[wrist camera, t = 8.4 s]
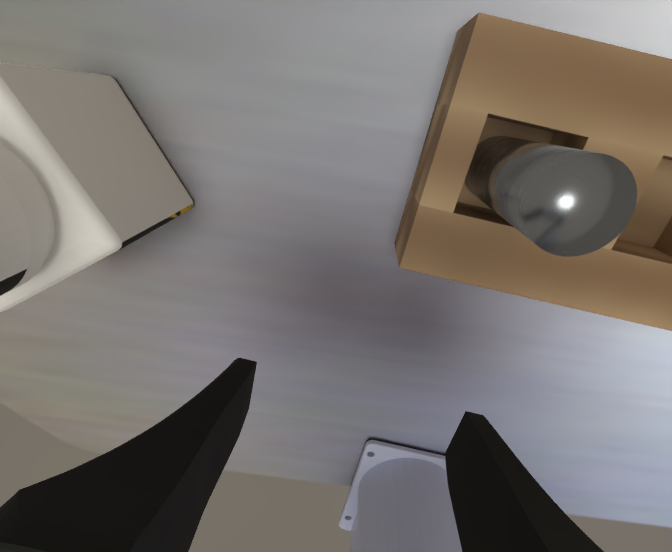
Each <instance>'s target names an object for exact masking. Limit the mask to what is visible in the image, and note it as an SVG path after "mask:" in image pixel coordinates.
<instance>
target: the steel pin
mask: <svg viewBox="0 0 672 552" xmlns="http://www.w3.org/2000/svg"><path fill="white" fill-rule="evenodd" d="M465 184H466V186H467V188H468V189H469V191H470V192H471V193H472V194H473V195H475V196H476V197H477V198H478V199H480V200H481V201H482V202H483V203H485V204H486V205H487V206H488V207H490V208H491V209H492V210H493V211H495V212H496V213H497V214H498V215H500V216H501V217H502V218H503V219H505V220H506V221H507V222H508V223H510V224H511V225H512V226H513V227H515V228H516V229H517V230H518V231H520V232H521V233H522V234H523V235H525V236H526V237H527V238H528V239H530V240H531V241H532V242H533V243H535V244H536V245H537V246H538V247H540V248H541V249H543V250H544V251H546V252H548V253H550V254H554V255H557V256H564V257H573V256H580V255H585V254H588V253H591V252H594V251H596V250H598V249H600V248H602V247H604V246H605V245H607V244H608V243H610V242H611V241H612V240H614V239H615V238H616V237H617V236H618V235H619V234H620V233H621V232H622V231H623V229H624V228H625V227H626V225H627V224H628V222H629V221H630V219H631V217H632V215H633V213H634V210H635V206H636V202H637V185H636V181H635V178H634V176H633V174H632V172H631V171H630V169H629V168H628V167H627V166H626V165H625V164H624V163H623V162H621V161H620V160H619V159H617V158H615V157H613V156H610V155H606V154H602V153H597V152H591V151H585V150H580V149H574V148H569V147H563V146H558V145H552V144H546V143H541V142H535V141H530V140H524V139H519V138H513V137H507V136H494V137H490V138H488V139H485V140H483V141H482V142H480V143H479V144H477V147H476V150H475V152H474V155H473V158H472V161H471V164H470V167H469V169H468V172H467V175H466V178H465Z"/></svg>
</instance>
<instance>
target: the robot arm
mask: <svg viewBox="0 0 672 552" xmlns="http://www.w3.org/2000/svg"><path fill="white" fill-rule="evenodd" d="M256 364H257V362H255V361H251V360H247V359H242V358H238V359H236V360H235V361H234V362H233V363H232V364H231V365H230V366H229V367H228V368H227V369H226V370H225V371H224V372H222V373H221V374H220V375H219V376H218V377H217V378H216V379H215V380H214V381H213V382H212V383H210V384H209V385H208V386H207V387H206V388H204V389H203V390H202V391H201V392H200V393H199V394H197V395H196V396H195V397H194V398H192V399H191V400H190V401H188V402H187V403H186V404H184V405H183V406H182V407H180V408H179V409H178V410H176V411H175V412H174V413H172V414H171V415H169V416H168V417H167V418H165V419H164V420H162V421H161V422H159V423H158V424H156V425H154V426H153V427H151V428H150V429H148V430H147V431H145V432H143V433H142V434H140V435H138V436H136V437H135V438H133V439H131V440H129V441H128V442H126V443H124V444H122V445H121V446H119V447H117V448H115V449H113V450H111V451H109V452H107V453H105V454H103V455H101V456H99V457H97V458H95V459H93V460H91V461H88V462H86V463H84V464H82V465H80V466H78V467H76V468H74V469H71V470H69V471H67V472H64V473H62V474H59V475H57V476H54V477H52V478H49V479H47V480H44V481H41V482H39V483H37V484H34V485H31V486H29V487H26V488H23V489H21V490H19V491H18V492H17V493H16V494H15V495H14V496H13V497H11V498H10V499H9V500H8V501H7V502H6V503H5V504H4V505H2V506H1V507H0V552H188V551H189V548H190V546H191V543H192V540H193V538H194V535H195V532H196V530H197V527H198V524H199V522H200V519H201V516H202V514H203V511H204V509H205V507H206V505H207V502H208V500H209V498H210V496H211V494H212V492H213V489H214V488H215V485H216V483H217V481H218V479H219V477H220V475H221V473H222V471H223V469H224V467H225V465H226V463H227V460H228V458H229V456H230V454H231V452H232V450H233V448H234V446H235V444H236V441H237V439H238V437H239V435H240V432H241V429H242V426H243V423H244V421H245V418H246V415H247V412H248V409H249V404H250V399H251V393H252V387H253V381H254V375H255V370H256ZM339 527H340V528H342V529H344V530H348V531H351V545H350V552H603V551H602V550H601V549H600V548H599V547H598V546H597V545H596V544H595V543H594V542H593V541H592V540H591V539H590V538H589V537H587V535H586V534H585V533H584V532H583V531H582V530H581V529H580V528H579V527H578V526H577V525H576V524H575V523H574V522H573V521H572V520H571V519H570V518H569V517H568V516H567V515H566V514H565V513H564V512H563V511H562V510H561V509H560V508H559V506H558V505H557V504H556V503H555V502H554V501H553V500H552V499H551V498H550V496H549V495H548V494H547V493H546V492H545V491H544V490H543V488H542V487H541V486H540V485H539V484H538V483H537V482H536V480H535V479H534V478H533V477H532V476H531V474H530V473H529V472H528V471H527V469H526V468H525V467H524V466H523V465H522V463H521V462H520V461H519V460H518V458H517V457H516V456H515V455H514V453H513V452H512V451H511V449H510V448H509V447H508V446H507V444H506V443H505V442H504V441H503V439H502V438H501V437H500V435H499V434H498V433H497V432H496V430H495V429H494V428H493V426H492V425H491V424H490V423H489V422H488V420H487V419H486V418H485V417H484V416H483V415H480V414H475V413H471V412H467V411H466V412H465V414H464V416H463V418H462V420H461V422H460V424H459V426H458V428H457V430H456V432H455V434H454V436H453V438H452V440H451V443H450V445H449V447H448V449H447V451H446V453H445V456H443V455H439V454H434V453H430V452H425V451H421V450H416V449H412V448H407V447H403V446H398V445H394V444H389V443H385V442H380V441H376V440H369V441H367V442H366V444H365V447H364V450H363V453H362V456H361V459H360V461H359V464H358V467H357V470H356V473H355V476H354V479H353V482H352V485H351V488H350V491H349V493H348V496H347V499H346V502H345V506H344V508H343V511H342V514H341V517H340V520H339Z"/></svg>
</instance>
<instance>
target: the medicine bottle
mask: <svg viewBox="0 0 672 552" xmlns="http://www.w3.org/2000/svg"><path fill="white" fill-rule="evenodd" d="M192 206H193V201H192V199H191V197H190V196H189V194H188V193H187V191H186V189H185V188H184V186H183V185H182V183H181V182H180V180H179V178H178V177H177V175H176V174H175V172H174V171H173V169H172V168H171V166H170V164H169V163H168V161H167V160H166V158H165V157H164V155H163V154H162V152H161V150H160V149H159V147H158V146H157V144H156V143H155V141H154V139H153V138H152V136H151V135H150V133H149V132H148V130H147V129H146V127H145V125H144V124H143V122H142V121H141V119H140V118H139V116H138V114H137V113H136V111H135V110H134V108H133V107H132V105H131V104H130V102H129V100H128V99H127V97H126V96H125V94H124V93H123V91H122V90H121V88H120V86H119V85H118V83H117V82H116V80H115V79H114V78H113V77H111V76H108V75H103V74H94V73H86V72H78V71H70V70H62V69H54V68H45V67H37V66H29V65H21V64H13V63H4V62H0V312H2V311H6V310H8V309H10V308H11V307H13V306H15V305H17V304H19V303H21V302H23V301H25V300H26V299H28V298H30V297H32V296H34V295H36V294H38V293H40V292H41V291H43V290H45V289H47V288H49V287H51V286H53V285H54V284H56V283H58V282H60V281H62V280H64V279H66V278H68V277H69V276H71V275H73V274H75V273H77V272H79V271H81V270H83V269H84V268H86V267H88V266H90V265H92V264H94V263H96V262H97V261H99V260H101V259H103V258H105V257H107V256H109V255H111V254H112V253H114V252H116V251H118V250H120V249H122V248H123V247H125V246H127V245H129V244H130V243H132V242H134V241H136V240H137V239H139V238H141V237H143V236H144V235H146V234H148V233H150V232H151V231H153V230H155V229H156V228H158V227H160V226H162V225H163V224H165V223H167V222H169V221H170V220H172V219H174V218H176V217H177V216H179V215H181V214H183V213H184V212H186V211H188V210H190V209H191V208H192Z"/></svg>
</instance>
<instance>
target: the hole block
mask: <svg viewBox="0 0 672 552" xmlns="http://www.w3.org/2000/svg"><path fill="white" fill-rule="evenodd" d="M494 136H507V137H513V138H519V139H524V140H530V141H535V142H541V143H546V144H552V145H558V146H563V147H569V148H574V149H580V150H585V151H591V152H597V153H602V154H606V155H610V156H613V157H615V158H617V159H619V160H620V161H621V162H623V163H624V164H625V165H626V166H627V167H628V168H629V169H630V171H631V172H632V174H633V176H634V178H635V181H636V185H637V202H636V206H635V210H634V213H633V215H632V217H631V219H630V221H629V222H628V224H627V225H626V227H625V228H624V229H623V231H622V232H621V233H620V234H619V235H618V236H617V237H616V238H615V239H614V240H612V241H611V242H610V243H608V244H607V245H605V246H604V247H602V248H600V249H598V250H596V251H594V252H591V253H588V254H585V255H580V256H573V257H564V256H557V255H554V254H550V253H548V252H546V251H544V250H543V249H541V248H540V247H538V246H537V245H536V244H535V243H533V242H532V241H531V240H530V239H528V238H527V237H526V236H525V235H523V234H522V233H521V232H520V231H518V230H517V229H516V228H515V227H513V226H512V225H511V224H510V223H508V222H507V221H506V220H505V219H503V218H502V217H501V216H500V215H498V214H497V213H496V212H495V211H493V210H492V209H491V208H490V207H488V206H487V205H486V204H485V203H483V202H482V201H481V200H480V199H478V198H477V197H476V196H475V195H473V194H472V193H471V192H470V191H469V189H468V188H467V186H466V184H465V178H466V175H467V172H468V169H469V167H470V164H471V161H472V158H473V155H474V152H475V150H476V147H477V144H479V143H480V142H482V141H483V140H485V139H488V138H490V137H494ZM395 248H396V253H397V258H398V263H399V268H402V269H406V270H410V271H415V272H419V273H423V274H428V275H432V276H436V277H441V278H445V279H449V280H453V281H458V282H462V283H466V284H471V285H475V286H479V287H484V288H488V289H492V290H497V291H501V292H505V293H510V294H514V295H518V296H523V297H527V298H531V299H536V300H540V301H544V302H549V303H553V304H557V305H562V306H566V307H570V308H575V309H579V310H583V311H588V312H592V313H596V314H601V315H605V316H609V317H613V318H618V319H622V320H626V321H631V322H635V323H639V324H644V325H648V326H652V327H657V328H661V329H665V330H670V331H672V59H668V58H664V57H660V56H656V55H652V54H648V53H643V52H639V51H635V50H631V49H627V48H623V47H619V46H615V45H611V44H606V43H602V42H598V41H594V40H590V39H586V38H582V37H578V36H573V35H569V34H565V33H561V32H557V31H553V30H549V29H545V28H541V27H536V26H532V25H528V24H524V23H520V22H516V21H512V20H508V19H503V18H499V17H495V16H491V15H487V14H483V13H478V14H477V15H476V16H474V17H473V18H472V19H471V20H470V21H469V22H467V23H466V24H465V25H464V26H463V27H462V28H460V29H459V30H458V32H457V35H456V38H455V42H454V45H453V48H452V52H451V55H450V59H449V62H448V65H447V69H446V72H445V75H444V79H443V82H442V85H441V89H440V92H439V96H438V99H437V102H436V106H435V109H434V112H433V116H432V119H431V123H430V126H429V129H428V133H427V136H426V139H425V143H424V146H423V149H422V153H421V156H420V160H419V163H418V166H417V170H416V173H415V176H414V180H413V183H412V186H411V190H410V193H409V197H408V200H407V203H406V207H405V210H404V213H403V217H402V220H401V223H400V227H399V230H398V234H397V237H396V240H395Z"/></svg>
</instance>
